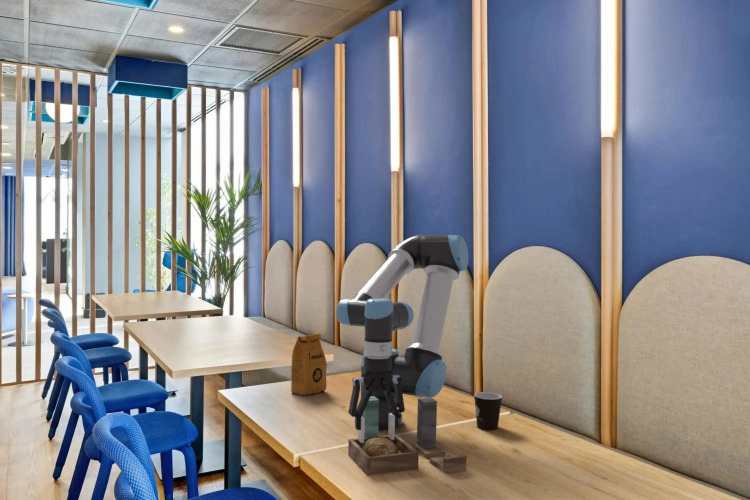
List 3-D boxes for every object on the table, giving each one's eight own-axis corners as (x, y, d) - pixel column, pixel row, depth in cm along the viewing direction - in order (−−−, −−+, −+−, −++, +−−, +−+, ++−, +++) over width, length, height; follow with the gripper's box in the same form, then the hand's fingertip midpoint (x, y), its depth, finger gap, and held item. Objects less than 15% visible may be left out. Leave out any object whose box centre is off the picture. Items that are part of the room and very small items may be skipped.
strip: (429, 462, 161) (430, 449, 161) (449, 459, 164) (449, 446, 164) (445, 473, 154) (446, 459, 154) (465, 470, 157) (466, 456, 157)
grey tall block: (413, 448, 172) (414, 398, 172) (432, 446, 174) (433, 397, 174) (425, 458, 165) (426, 406, 164) (445, 455, 167) (446, 404, 166)
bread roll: (358, 471, 163) (348, 447, 161) (384, 447, 169) (376, 423, 167) (382, 483, 156) (373, 458, 153) (409, 458, 162) (400, 434, 159)
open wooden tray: (342, 448, 171) (343, 398, 170) (389, 443, 176) (390, 394, 175) (366, 475, 152) (368, 419, 152) (418, 468, 157) (419, 414, 157)
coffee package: (330, 392, 231) (331, 334, 230) (303, 398, 222) (304, 337, 222) (313, 387, 238) (314, 331, 238) (287, 392, 230) (288, 334, 229)
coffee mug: (501, 432, 188) (502, 400, 187) (472, 430, 189) (473, 398, 189) (501, 421, 199) (502, 390, 199) (474, 419, 201) (475, 389, 200)
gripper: (345, 361, 158) (343, 448, 159) (419, 356, 166) (417, 440, 166) (336, 355, 165) (335, 439, 166) (407, 351, 173) (406, 431, 173)
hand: (376, 439), depth 166 cm, fingers open, 8 cm apart
